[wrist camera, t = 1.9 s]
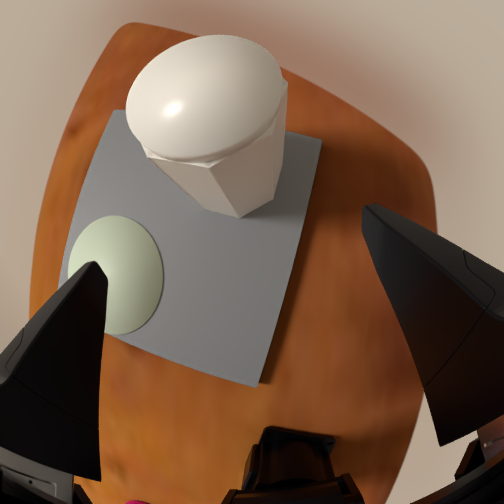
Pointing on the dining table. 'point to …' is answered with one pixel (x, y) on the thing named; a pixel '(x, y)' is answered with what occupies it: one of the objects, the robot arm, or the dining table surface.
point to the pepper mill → (135, 502)
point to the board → (188, 256)
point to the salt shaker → (213, 120)
